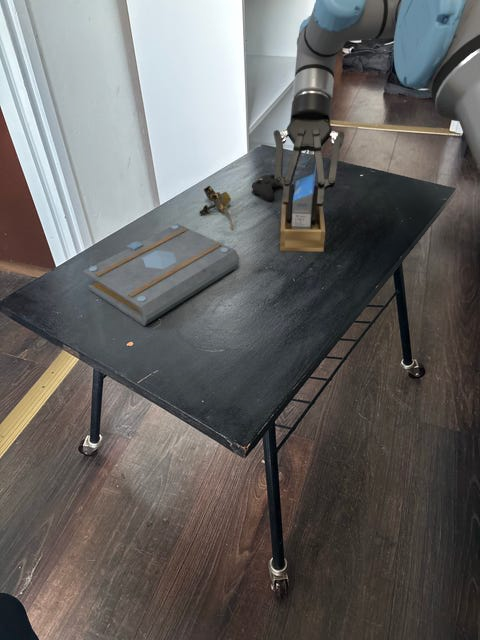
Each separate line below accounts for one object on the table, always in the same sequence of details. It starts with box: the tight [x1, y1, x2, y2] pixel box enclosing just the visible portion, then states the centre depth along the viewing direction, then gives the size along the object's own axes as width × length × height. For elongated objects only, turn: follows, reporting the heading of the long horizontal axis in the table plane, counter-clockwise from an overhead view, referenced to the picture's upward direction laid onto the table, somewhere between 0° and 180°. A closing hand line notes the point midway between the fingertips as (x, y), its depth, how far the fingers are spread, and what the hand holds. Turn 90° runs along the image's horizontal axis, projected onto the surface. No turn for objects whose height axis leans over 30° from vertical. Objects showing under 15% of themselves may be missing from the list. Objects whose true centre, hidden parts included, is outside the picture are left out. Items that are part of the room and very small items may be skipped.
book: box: [82, 223, 241, 327], centre depth 82 cm, size 21×16×5 cm
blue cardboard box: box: [291, 164, 317, 229], centre depth 90 cm, size 9×4×12 cm, turn 171°
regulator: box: [199, 185, 234, 231], centre depth 101 cm, size 8×4×15 cm
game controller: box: [251, 173, 285, 202], centre depth 109 cm, size 10×5×6 cm
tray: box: [279, 199, 326, 253], centre depth 93 cm, size 8×13×4 cm, turn 175°
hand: (300, 221), depth 88 cm, fingers closed on blue cardboard box, 4 cm apart
